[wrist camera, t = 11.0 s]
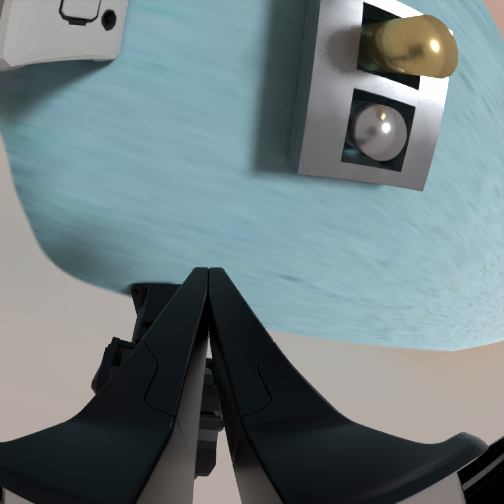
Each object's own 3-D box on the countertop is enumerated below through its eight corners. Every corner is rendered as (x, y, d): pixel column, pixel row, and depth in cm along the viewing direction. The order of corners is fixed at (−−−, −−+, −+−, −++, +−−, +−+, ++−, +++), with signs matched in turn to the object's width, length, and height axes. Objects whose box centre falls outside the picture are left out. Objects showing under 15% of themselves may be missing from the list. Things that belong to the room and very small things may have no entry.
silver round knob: (375, 150, 19) (399, 164, 16) (333, 142, 18) (353, 156, 15) (384, 105, 17) (411, 114, 14) (341, 94, 16) (364, 99, 13)
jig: (402, 176, 20) (422, 191, 18) (286, 160, 19) (297, 174, 16) (427, 32, 13) (452, 31, 10) (307, -13, 11) (322, -25, 9)
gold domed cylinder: (389, 77, 15) (454, 88, 10) (345, 63, 15) (404, 64, 9) (394, 35, 13) (459, 32, 8) (350, 19, 13) (409, 3, 7)
